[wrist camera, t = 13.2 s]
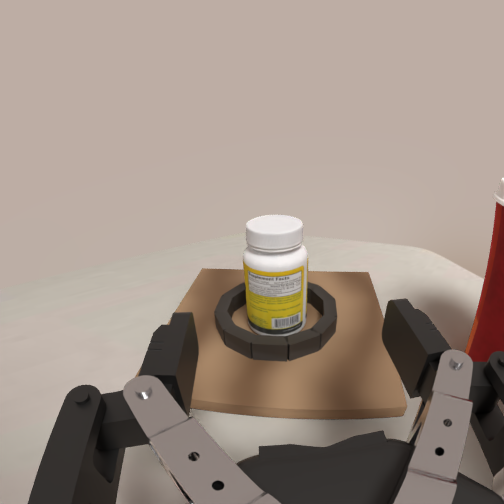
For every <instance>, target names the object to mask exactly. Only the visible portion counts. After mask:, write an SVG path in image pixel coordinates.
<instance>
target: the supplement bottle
mask: <svg viewBox="0 0 504 504" xmlns="http://www.w3.org/2000/svg"><path fill="white" fill-rule="evenodd" d="M246 241H247V245H248V247H247V248H246V249H245V251H244V253H243V266H244V278H245V291H246V303H247V316H248V324H249V326H250V328H251V329H252V330H253V331H254V332H255V333H257V334H259V335H270V336H288V335H291V334H294V333H297V332H299V331H300V330H301V329H302V328H303V327H304V325H305V323H306V316H307V280H308V252H307V250H306V248H305V247H304V246H303V245H302V243H303V223H302V221H301V220H299V219H297V218H295V217H292V216H286V215H266V216H260V217H256V218H253V219H251V220H250V221H248V222H247V224H246Z"/></svg>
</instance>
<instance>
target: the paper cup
mask: <svg viewBox="0 0 504 504" xmlns="http://www.w3.org/2000/svg"><path fill="white" fill-rule="evenodd" d="M493 198H494V200H495V201H496V211H495V220H494V228H493V235H492V242H491V248H490V254H489V259H488V265H487V270H486V275H485V279H484V284H483V288H482V293H481V297H480V301H479V305H478V309H477V312H476V316H475V320H474V323H473V327H472V330H471V334H470V337H469V340H468V344H467V347H466V350H465V353H466V354H467V355H469V357H470V358H471V359H472V361H473V362H488V359H489V357H490V355H491V354H492V353H494V352H496V351H503V352H504V177H503V178H502V179H501V181H500V184H499V188H498V191H496V192H495V193H494V194H493Z"/></svg>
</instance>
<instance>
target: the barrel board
mask: <svg viewBox="0 0 504 504" xmlns="http://www.w3.org/2000/svg"><path fill="white" fill-rule="evenodd" d="M175 312H192V313H193V316H194V321H195V327H196V333H197V338H198V345H199V356H198V362H197V368H196V375H195V381H194V387H193V393H192V400H191V406H190V408H195V409H201V410H208V411H216V412H223V413H232V414H241V415H251V416H263V417H277V418H297V419H364V418H384V417H398V416H403V415H404V412H405V410H406V408H407V404H406V400H405V395H404V391H403V387H402V383H401V379H400V376H399V374H398V372H397V370H396V368H395V366H394V364H393V362H392V360H391V358H390V356H389V354H388V352H387V350H386V348H385V346H384V344H383V341H382V327H383V323H384V318H383V315H382V312H381V309H380V306H379V302H378V299H377V296H376V293H375V290H374V287H373V284H372V281H371V278H370V275H369V273H368V272H319V271H308V280H307V316H306V323H305V325H304V327H303V328H302V329H301V330H300V331H299V332H297V333H294V334H291V335H288V336H270V335H259V334H257V333H255V332H254V331H253V330H252V329H251V328H250V326H249V324H248V316H247V303H246V291H245V278H244V270H234V269H202V270H201V272H200V273H199V275H198V276H197V278H196V279H195V281H194V282H193V284H192V286H191V287H190V289H189V290H188V292H187V293H186V295H185V297H184V298H183V300H182V301H181V303H180V305H179V306H178V308H177V309H176V311H175ZM171 318H172V317H171ZM170 321H171V319H170ZM170 321H169V322H168V324H167V325H169V324H170ZM140 369H141V368H140ZM139 372H140V370H139V371H138V373H137V375H136V376H135V377H138V375H139Z"/></svg>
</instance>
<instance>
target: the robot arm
mask: <svg viewBox="0 0 504 504" xmlns="http://www.w3.org/2000/svg"><path fill="white" fill-rule="evenodd" d="M382 341H383V344H384V346H385V348H386V350H387V352H388V354H389V356H390V358H391V360H392V362H393V364H394V366H395V368H396V370H397V372H398V374H399V376H400V378H401V380H402V382H403V384H404V386H405V388H406V390H407V392H408V394H409V396H410V398H415V397H419V396H421V398H422V401H421V404H420V406H419V409H418V412H417V415H416V417H415V420H414V423H413V426H412V428H411V431H410V434H409V436H408V438H407V441H406V442H404V441H401V440H396V439H386V437H385V434H384V431H378V432H373V433H368V434H363V435H358V436H354V437H351V438H349V439H346V440H344V441H341V442H339V443H336V444H333V445H331V446H328V447H312V446H302V445H293V444H288V445H274V446H259V455H256V456H252V457H249V458H247V459H244V460H242V461H240V462H238V463H237V464H235V463H234V462H233V461H232V459H231V458H230V457H229V456H228V455H227V454H226V453H225V452H224V451H223V450H222V449H221V448H220V446H219V445H218V444H217V443H216V442H215V441H214V440H213V439H212V437H211V436H210V435H209V434H208V433H207V432H206V431H205V429H204V428H203V427H202V426H201V425H200V424H199V422H198V421H197V420H196V419H195V418H194V417H190V418H189V413H190V406H191V400H192V393H193V387H194V381H195V375H196V368H197V362H198V356H199V345H198V338H197V333H196V327H195V321H194V316H193V313H192V312H174V313H173V315H172V318H171V321H170V324H169V325H161V326H160V327H159V328H158V329H157V330H156V331H155V332H154V333H153V336H152V339H151V341H150V342H151V343H150V344H149V347H148V351H147V352H146V355H145V358H144V361H143V364H142V366H141V369H140V372H139V375H138V377H135V378H133V379H132V380H130V381H129V382H128V383H127V384H126V385H125V387H124V390H122V391H118V392H113V393H107V394H101V393H100V391H99V390H98V389H97V388H96V387H94V386H91V385H81V386H78V387H75V388H74V389H72V390H71V391H70V392H69V393H68V394H67V396H66V398H65V400H64V403H63V405H62V407H61V410H60V412H59V415H58V417H57V420H56V422H55V425H54V427H53V430H52V433H51V435H50V438H49V441H48V443H47V446H46V449H45V452H44V455H43V457H42V460H41V463H40V466H39V469H38V472H37V475H36V478H35V481H34V485H33V488H32V491H31V494H30V498H29V501H28V504H116V497H117V491H118V486H119V480H120V474H121V469H122V463H123V458H124V453H125V448H126V447H132V446H138V445H144V444H148V445H149V446H150V448H151V450H152V451H153V453H154V454H155V456H156V457H157V459H158V460H159V462H160V463H161V465H162V466H163V468H164V469H165V471H166V472H167V474H168V475H169V476H170V478H171V479H172V481H173V482H174V484H175V485H176V487H177V488H178V490H179V491H180V492H181V494H182V495H183V496H184V498H185V499H186V500H187V502H188V503H189V504H504V416H503V414H502V412H501V410H500V409H499V407H498V405H497V403H498V401H499V400H500V399H501V401H502V402H503V404H504V352H503V351H496V352H494V353H492V354H491V355H490V357H489V359H488V362H473V361H472V359H471V358H470V357H469V355H467V354H466V353H464V352H462V351H460V350H454V349H453V350H452V349H451V347H450V346H449V345H448V343H447V342H446V340H445V339H444V338H443V336H442V335H441V334H440V332H439V331H438V330H437V328H436V327H435V325H434V324H432V321H431V320H430V319H429V317H428V316H427V315H426V314H425V313H423V312H422V311H420V310H419V309H414V307H413V306H412V305H411V303H410V302H409V301H408V300H407V299H397V300H390V301H389V302H388V304H387V309H386V313H385V318H384V323H383V327H382ZM469 422H470V423H471V425H472V428H473V430H474V432H475V434H476V436H477V439H478V441H479V443H480V445H481V448H482V450H483V452H484V455H485V457H486V459H487V462H488V464H489V467H490V469H491V472H492V474H493V477H494V478H493V481H492V490H490V489H488V488H487V487H485V486H483V485H481V484H479V483H477V482H475V481H474V480H472V479H470V478H468V477H467V476H465V475H463V474H461V473H459V472H458V470H459V466H460V462H461V458H462V454H463V450H464V446H465V442H466V437H467V432H468V427H469Z"/></svg>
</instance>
